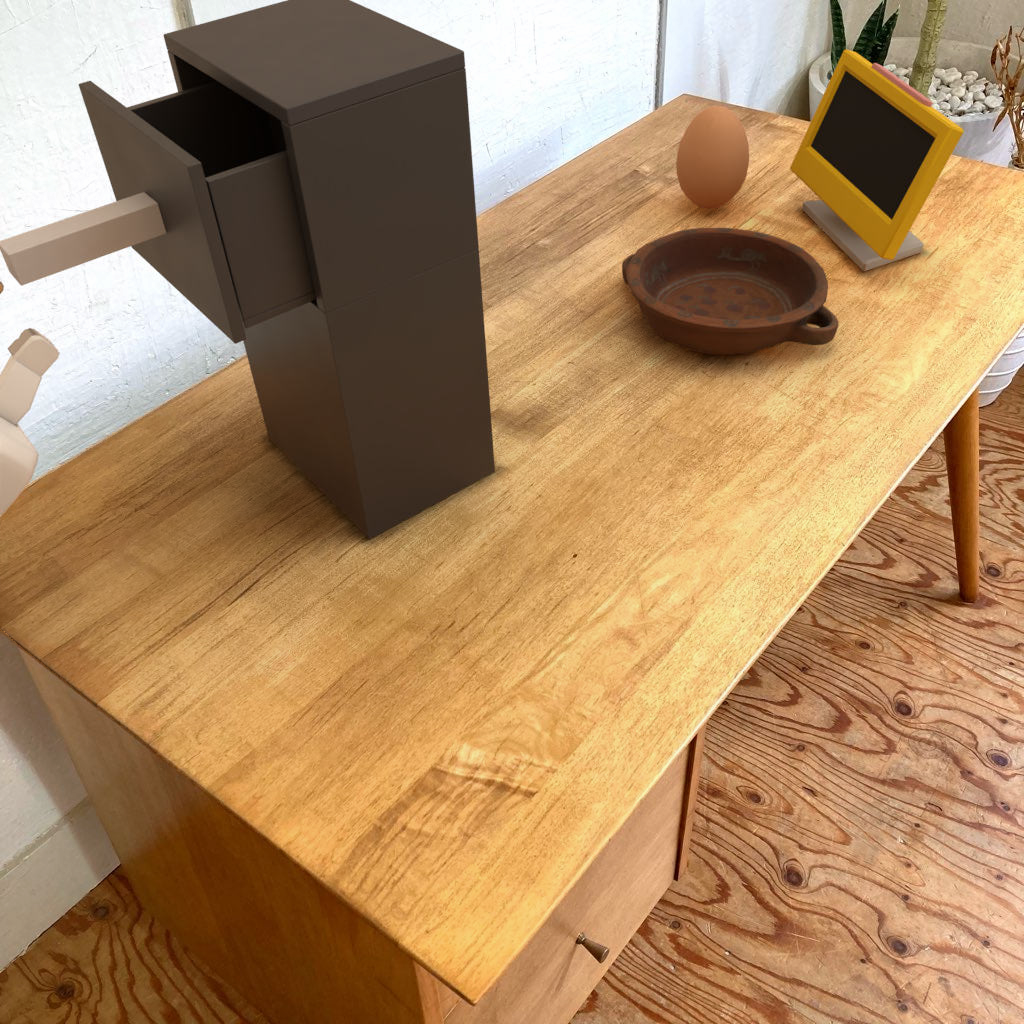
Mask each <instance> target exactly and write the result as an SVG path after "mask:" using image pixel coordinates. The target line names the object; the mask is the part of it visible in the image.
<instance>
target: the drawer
mask: <svg viewBox="0 0 1024 1024" xmlns="http://www.w3.org/2000/svg"><path fill="white" fill-rule="evenodd" d="M78 88H79V91H80V93H81V97H82V100H83V103H84V106H85V109H86V113H87V115H88V118H89V122H90V124H91V127H92V131H93V134H94V137H95V140H96V143H97V146H98V149H99V152H100V156H101V159H102V162H103V164H104V167H105V170H106V173H107V176H108V180H109V183H110V186H111V190H112V192H113V195H114V198H115V201H114V202H113V201H112V202H111V203H110V202H109V203H107V204H105V205H102V206H98V207H96V208H93V209H89V210H86V211H84V212H82V213H81V212H80V213H78V214H75V215H73V216H69V217H67V218H64V219H61V220H58V221H55V222H52V223H49V224H46V225H42V226H40V227H37V228H34V229H31V230H28V231H25V232H22V233H19V234H17V235H14V236H11V237H8V238H4V239H2V240H0V254H1V255H2V257H3V260H4V262H5V265H6V268H7V270H8V272H9V274H10V275H11V276H12V277H13V278H14V280H15V281H16V282H17V283H18V284H19V285H20V286H26V285H27V284H30V283H33V282H35V281H36V282H37V281H38V280H42V279H44V278H47V277H50V276H52V275H55V274H57V273H61V272H63V271H67V270H69V269H71V268H74V267H77V266H80V265H83V264H86V263H88V262H92V261H94V260H97V259H100V258H102V257H105V256H107V255H110V254H114V253H116V252H119V251H122V250H124V249H127V248H132V249H133V250H134V251H135V252H136V253H137V254H138V255H139V256H140V257H141V258H142V259H143V260H144V261H146V262H147V263H148V264H149V265H150V266H151V267H152V268H153V269H154V270H155V271H156V272H157V273H159V275H160V276H162V278H164V279H165V281H167V282H168V283H169V284H170V285H171V286H172V287H173V288H174V289H176V290H177V291H178V292H179V293H180V294H181V295H182V296H183V297H184V299H186V300H188V301H189V302H190V303H191V304H192V306H194V307H195V308H196V309H197V310H198V311H199V312H200V313H201V314H203V315H204V316H205V317H206V318H207V319H208V320H209V321H210V322H211V323H212V324H213V325H214V326H215V327H216V328H218V330H220V331H221V332H222V333H223V334H224V335H225V336H226V337H227V338H228V339H229V340H230V341H231V342H233V344H234V345H236V344H238V343H241V342H243V340H246V339H247V338H246V334H245V331H244V328H249V327H251V326H254V325H256V324H258V323H261V322H263V321H266V320H268V319H270V318H273V317H275V316H278V315H280V314H282V313H285V312H287V311H289V310H292V309H294V308H297V307H299V306H301V305H304V304H306V303H309V302H311V301H313V300H316V295H315V290H314V285H313V280H312V275H311V270H310V265H309V260H308V255H307V250H306V244H305V239H304V234H303V229H302V224H301V219H300V214H299V209H298V204H297V199H296V194H295V189H294V184H293V179H292V174H291V169H290V164H289V159H288V154H287V149H286V144H285V139H284V134H283V129H282V124H281V122H282V121H281V120H279V119H278V118H276V117H274V116H273V115H271V114H270V113H268V112H266V111H265V110H263V109H261V108H260V107H258V106H257V105H255V104H253V103H252V102H250V101H249V100H247V99H245V98H244V97H242V96H241V95H239V94H237V93H236V92H234V91H233V90H231V89H229V88H228V87H226V86H225V85H223V84H221V83H220V82H218V81H217V80H216V81H213V82H209V83H206V84H203V85H199V86H196V87H193V88H190V89H186V90H183V91H180V92H178V91H176V92H173V93H170V94H167V95H164V96H160V97H156V98H153V99H150V100H147V101H143V102H139V103H137V104H134V105H130V106H125V105H124V104H123V103H121V102H120V101H119V100H117V99H116V98H114V97H113V96H112V95H111V94H109V93H107V92H106V91H105V90H104V89H103V88H101V87H100V86H98V85H97V84H96V83H95V82H94V81H92V80H87V81H84V82H81V83H78Z"/></svg>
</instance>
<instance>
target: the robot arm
mask: <svg viewBox="0 0 1024 1024" xmlns="http://www.w3.org/2000/svg"><path fill="white" fill-rule="evenodd" d="M4 288H5V286H4V283H3V282H2V280H0V295H2V292H4V290H5V289H4ZM7 350H8V352H9V353H10V354H11V355H10V357H9V358H8V360H7V362H6V363H5V365H4V367H3V369H2V371H1V372H0V518H1V517H2V516H4V514H5V513H6V512H7V510H8V509H9V508H10V507H11V506H12V505H13V504H14V503H15V501H16V500H17V499H18V498H19V497H20V496H21V494H22V493H23V491H24V490H25V489H26V488H27V486H28V485H29V483H30V482H31V481H32V478H33V477H34V473H35V470H36V467H37V465H38V460H39V452H38V450H37V449H36V447H35V446H34V444H33V443H32V442H31V440H30V439H29V438H28V436H27V434H26V433H25V431H24V430H23V429H22V427H21V426H20V425H19V422H20V421H21V420H22V419H23V418H24V417H25V415H26V414H28V412H29V411H30V410H31V408H32V405H33V403H34V399H35V397H36V395H37V393H38V389H39V387H40V384H41V382H42V379H43V376H44V374H45V373H47V371H48V370H49V369H50V368H51V367H52V365H54V363H55V362H56V361H57V360H58V359H59V355H60V352H59V350H58V348H57V347H56V346H55V344H54V343H53V342H52V341H51V340H50V339H49V338H48V337H47V336H45V335H44V334H42V333H40V332H39V331H38V330H36V329H35V328H32V327H29V328H26V329H24V330H22V332H21V333H20V334H19V336H18V338H15V340H13V342H12V343H11V344H10V345H9V346H8V347H7Z"/></svg>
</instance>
